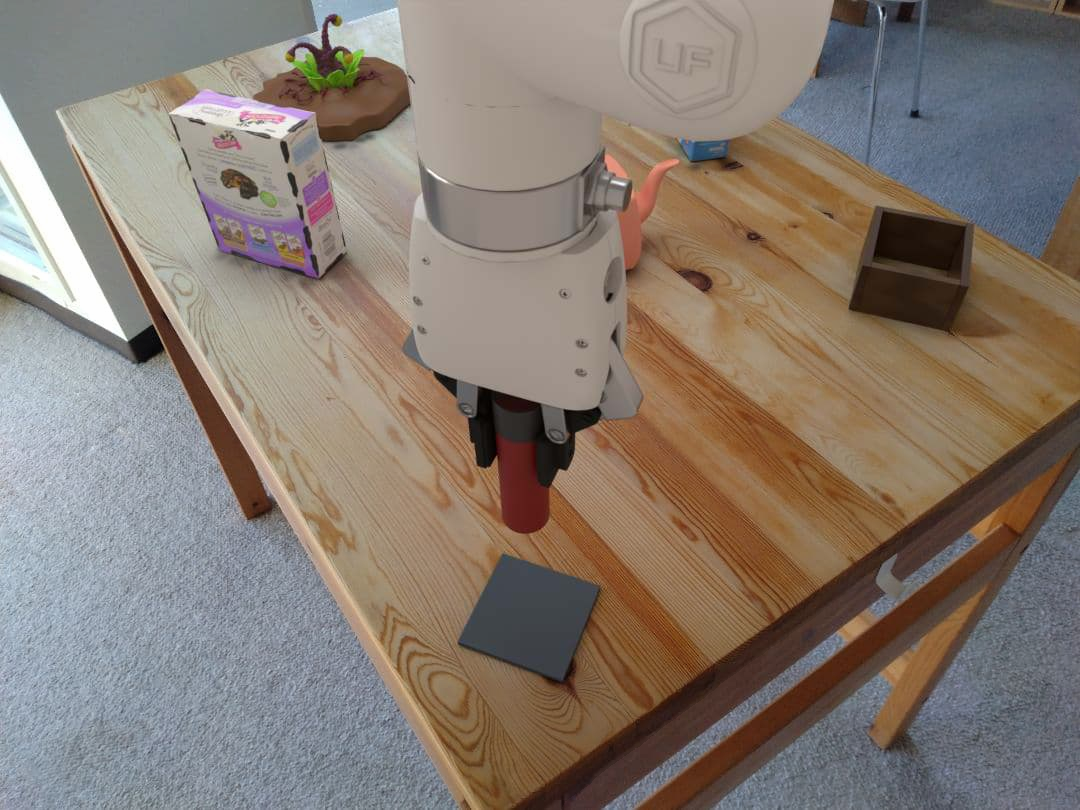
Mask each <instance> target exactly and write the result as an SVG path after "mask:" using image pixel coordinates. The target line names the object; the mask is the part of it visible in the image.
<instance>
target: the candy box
mask: <svg viewBox="0 0 1080 810" xmlns="http://www.w3.org/2000/svg"><path fill="white" fill-rule="evenodd" d="M168 117H169V119H170V122H171V123H170V124H172V128H173V131H174V132H175V137H176V138H177V140H178V141H177V142H178V144H179V146H180V149H181V151H182V154H183V157H184V160H185V162H186V165H187V168H188V170H189V173H190V176H191V179H192V182H193V185H194V187H195V189H196V192H197V195H198V198H199V200H200V203H201V205H202V208H203V210H204V213H205V216H206V218H207V222H208V224H209V227H210V230H211V232H212V235H213V237H214V238H213V239H214V241H215V244H216V247H217V249H218V250H219V251H221V252H223V253H227V254H230V255H234V256H239V257H241V258H244V259H247V260H251V261H256V262H259V263H262V264H265V265H269V266H273V267H277V268H280V269H283V270H287V271H289V272H295V273H298V274H301V275H304V276H307V277H312V278H315V279H320V278H321V277H322V276H323V275H324V274H325V273H327V271H328V270H329V269H330V268H331V267H332V266H334V264H335V263H337V262H338V261H339V260H340V259H341V258H342V257H343V256H344V255H345V254H346V253H347V251H348V249H347V244H346V241H345V237H344V236H345V235H344V232H343V226H342V223H341V219H340V215H339V210H338V205H337V201H336V197H335V192H334V188H333V184H332V179H331V174H330V170H329V165H328V161H327V156H326V152H325V148H324V143H323V140H322V139H321V134H320V130H319V126H318V121H317V117H316V113H315V112H309V111H304V110H299V109H294V108H289V107H284V106H280V105H275V104H270V103H266V102H261V101H256V100H253V98H248V97H247V98H246V97H244V96H243V97H242V96H238V95H232V94H228V93H223V92H220V91H215V90H211V89H207V88H204V89H203V90H202V91H200V92H199V93H198V94H195V95H194V96H193V97H191V98H190V99H187V101H185V102H184V103H182V104H180V105H179V106H178V107H176V108H174V109H173V110H171V111H170V112H168Z"/></svg>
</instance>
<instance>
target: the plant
mask: <svg viewBox="0 0 1080 810" xmlns="http://www.w3.org/2000/svg"><path fill="white" fill-rule="evenodd" d="M329 23H331V25H332V26H334V27H340V26H342V24H343V18H342V16H340V15H339V14H337V13H330V14H328V15H327V16H325V18H324V21H323V24H322V25H321V27H322V30H321V35H320V39H321V42H320V43H321V46H319V48H318V47H317V46H315V45H313V44H312V43H310V42H302V41H300V42H297V43H296V44H294V46H292V47H291V48H290V49H289V50H288V51H286V53H285V60H286V61H287V62H288V63H289V64H290V65H291V66H293V67H294V68H292V69H291V70H288V71H285V72H279V73H277V74H276V76H275V77H272V78H270V79H268V80H265V81H263V82H262V87H263V90H261V91H258V92H257V93H254V94H253V95H252V96H253V97H252V100H256V101H261V102H266V103H270V104H275V105H280V106H284V107H289V108H294V109H299V110H304V111H309V112H315V113H316V117H317V121H318V126H319V130H320V134H321V139H322V141H325V142H334V141H349V142H350V141H353V140H355V139H356V138H357V137H358V136H359V135H360V134H363V133H366V132H368V131H373V130H380V129H382V128H384V127H386V125H388V124H389V123H390V122H391V121H392V120H393V119H394V118H395V117H396V116H397V115H398V114H399V113H400V112H402V111H403V110H404V109H405V108H407V107H408V106H409V105H411V102H410V95H409V87H408V80H407V73H406V71H405V70H404V69H403V68H402V67H400V66H399V65H397V64H395V63H393V62H390V61H387V60H385V59H383V58H380V57H377V56H364V55H365V49H358V50H356V51H354V52H352V51H350V49H349V48H347V47H345V46H342V45H337V46H334V48H332V45H331V43H330V39H329V37H330V36H329ZM302 48H304V49H307V50H308V51H309V53H305V54H304V58H305V60H304V61H301V60H296V57H297V56H296V50H297V49H302ZM310 53H311V54H310Z"/></svg>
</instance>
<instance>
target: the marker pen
mask: <svg viewBox="0 0 1080 810" xmlns="http://www.w3.org/2000/svg"><path fill="white" fill-rule="evenodd" d="M491 396H492V409H493V421H494V428H495V435H496V447H497V456H496V458H497V471H498V483H499V484H498V485H499V497H500V498H499V499H500V509H501V519H502V522H503V524H504V525H505V526H506V527H507V528H508V529H509V530H510V531H512V532H513V533H516V534H520V535H521V534H522V535H531V534H533V533H537V532H539V531H540V530H542V529H543V528H544V527H546V525H547V523H548V522H549V520H550V511H551V509H550V488H546V487H543V486H540V483H538V482H537V447H536V443H537V439H538V437H539V435H540V433H541V431H542V429H543V427H544V419H543V413H542V407H541V403H538V402H535V401H531V400H527V399H524V398H520V397H516V396H513V395H509V394H506V393H502V392H499V391H495V390H492V393H491Z"/></svg>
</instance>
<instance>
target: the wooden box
mask: <svg viewBox="0 0 1080 810" xmlns="http://www.w3.org/2000/svg"><path fill="white" fill-rule="evenodd" d="M974 235H975V223H971V222H967V221H962V220H957V219H951V218H945V217H940V216H935V215H929V214H924V213H919V212H914V211H908V210H903V209H897V208H893V207H887V206H882V205H875V207H874V209H873V213H872V217H871V220H870V223H869V225H868V229H867V233H866V235H865V239H864V242H863V245H862V249H861V253H860V258H859V261H858V265H857V270H856V274H855V279H854V283H853V287H852V291H851V296H850V300H849V305H848V310H852V311H856V312H860V313H865V314H869V315H872V316H873V315H874V316H878V317H882V318H888V319H890V320H891V319H892V320H897V321H901V322H906V323H910V324H914V325H918V326H923V327H927V328H931V329H932V328H933V329H937V330H942V331H948V332H950V331H951V330H952V328H953V325H954V322H955V321H956V318H957V316H958V314H959V311H960V310H961V307H962V305H963V303H964V301H965V298H966V295H967V293H968V290H969V289H970V281H971V271H972V270H971V269H972V259H973V258H972V257H973V247H974ZM874 256H876V257H881V258H886V259H891V260H896V261H901V262H905V263H911V264H916V265H920V266H925V267H930V268H935V269H940V270H946V271H947V274H946V275H947V276H942V275H937V274H932V273H927V272H923V271H917V270H913V269H907V268H902V267H898V266H894V265H888V264H883V263H878V262H873V261H874V260H873V258H874Z"/></svg>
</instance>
